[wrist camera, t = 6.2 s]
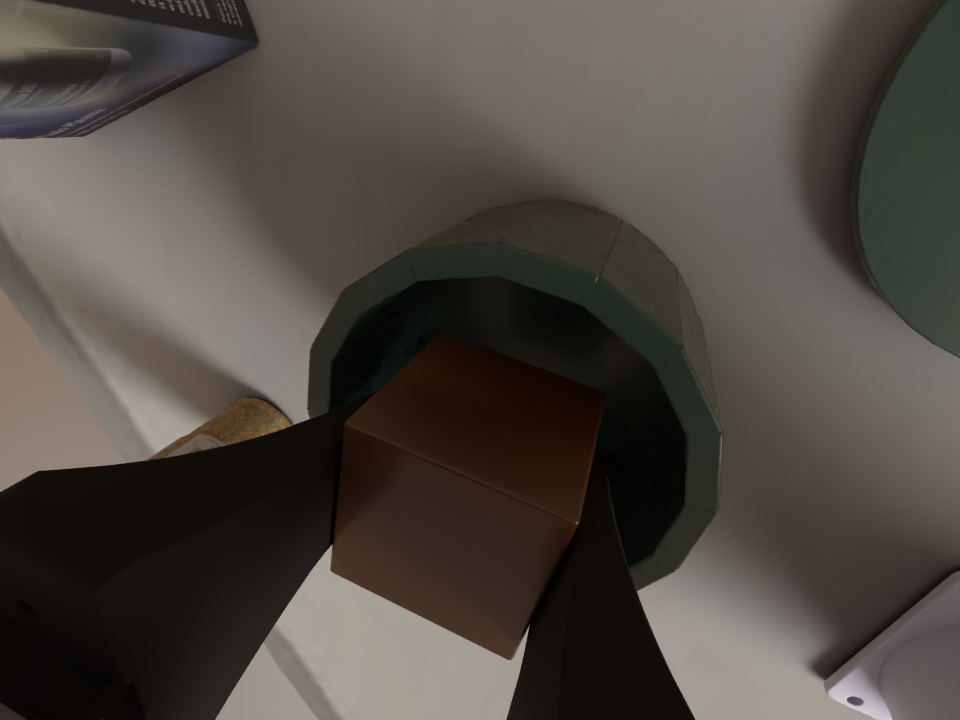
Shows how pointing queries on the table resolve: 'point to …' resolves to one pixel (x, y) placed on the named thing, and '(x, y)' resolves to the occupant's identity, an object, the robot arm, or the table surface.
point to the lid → (915, 182)
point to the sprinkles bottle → (229, 428)
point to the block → (465, 488)
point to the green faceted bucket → (557, 350)
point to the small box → (106, 58)
